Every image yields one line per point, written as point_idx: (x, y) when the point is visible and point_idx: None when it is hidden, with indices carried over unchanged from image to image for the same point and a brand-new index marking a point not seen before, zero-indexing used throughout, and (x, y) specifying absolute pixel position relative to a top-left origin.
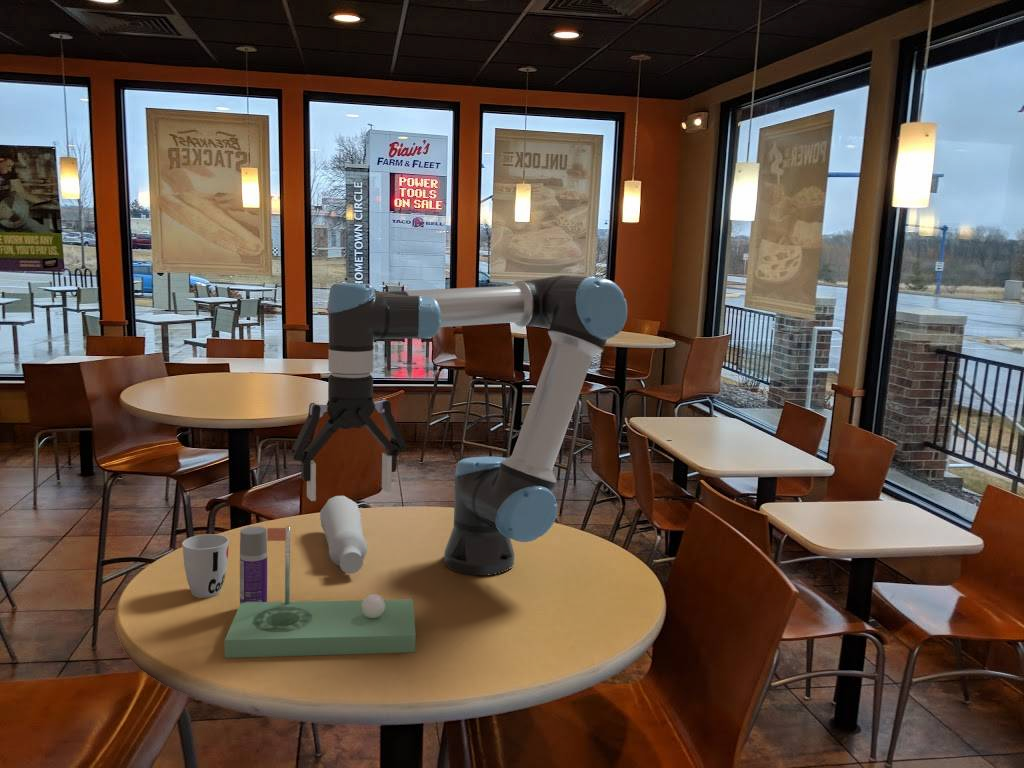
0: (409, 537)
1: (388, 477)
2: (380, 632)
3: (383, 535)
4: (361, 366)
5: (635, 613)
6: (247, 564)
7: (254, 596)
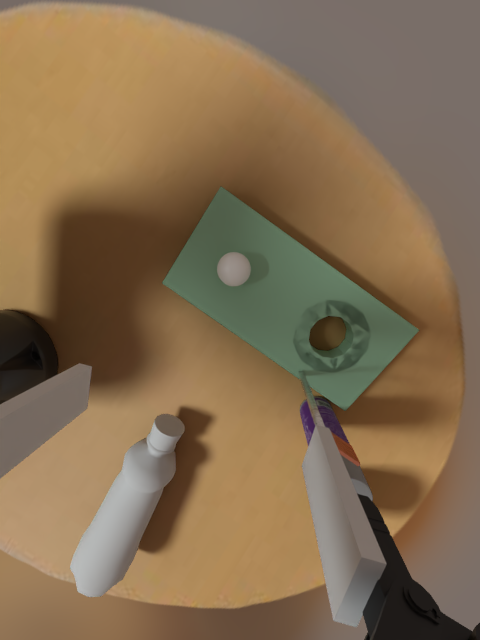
0: (50, 471)
1: (50, 387)
2: (253, 223)
3: (75, 495)
4: None
5: None
6: None
7: (328, 410)
